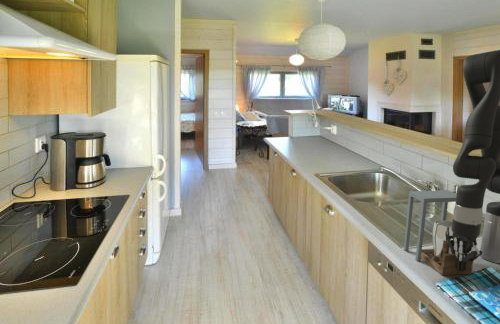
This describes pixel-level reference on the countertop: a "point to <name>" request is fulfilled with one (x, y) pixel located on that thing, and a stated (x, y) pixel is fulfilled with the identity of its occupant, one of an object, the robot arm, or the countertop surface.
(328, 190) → the countertop surface
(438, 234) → the beer glass
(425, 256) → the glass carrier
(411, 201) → the grey four-legged stool
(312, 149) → the countertop surface
